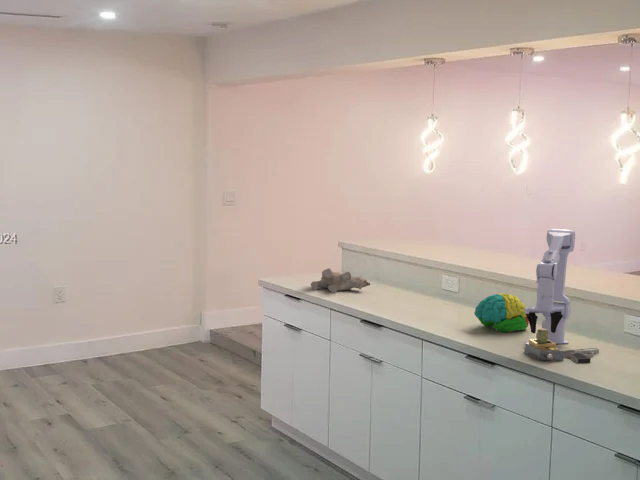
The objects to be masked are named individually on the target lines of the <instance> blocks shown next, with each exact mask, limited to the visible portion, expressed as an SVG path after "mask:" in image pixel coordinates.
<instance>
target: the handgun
mask: <svg viewBox="0 0 640 480" xmlns="http://www.w3.org/2000/svg"><path fill="white" fill-rule="evenodd" d="M563 351H564V356H563V359H564V358H565V359H567V358H568V359H571V360H572V361H574V363H576V364H588V363H591V358H592V357H594V355H597V354H599V353H600V349H599V348H598V347H589V348H582V349H581V348H580V349H569V350H563Z"/></svg>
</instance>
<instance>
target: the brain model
mask: <svg viewBox="0 0 640 480" xmlns="http://www.w3.org/2000/svg"><path fill="white" fill-rule="evenodd" d="M526 307H527V306H526V305H525V303H523V302H522V301H521V300H520V298H519V297H518V296H515V295H513V294H509V293H497V294H491V295H489V296H487V297H485V298H483V300H480V302H478V304H477V305H476V307H475V309H474V316H475V317H476V318H477V319H478V320H479V322H480V324H481V325H482V326H484V327H486V328H490V329H491V328H493V329H495V331H497V332H499V333H500V332H501V333H509V332H516V331H522V330H526V329H527V328H528V327H529V325H530V324H529V321H528V318H527V316H526V313H524V308H526Z"/></svg>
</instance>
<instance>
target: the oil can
mask: <svg viewBox="0 0 640 480" xmlns="http://www.w3.org/2000/svg"><path fill="white" fill-rule="evenodd" d="M536 334H537V343H539V344H543V343H548V336H549V334H548V330H547V329H542V328H538V329H536Z"/></svg>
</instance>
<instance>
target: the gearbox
mask: <svg viewBox="0 0 640 480" xmlns="http://www.w3.org/2000/svg"><path fill="white" fill-rule="evenodd" d="M564 351H565V350H564V349H562V348H560V347H558V346H557V344H556V343H554V342H552V341H550V340H549V339H548V343H543V344H539V343H537V339H536V338H530V339H528V342H525V343H524V353H526V354H527V355H528V356H531V357H532V358H534V359H535V360H537V361H538V362H548V361H549V362H550V361H552V362H553V361H564V358H563V356H564Z"/></svg>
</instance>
